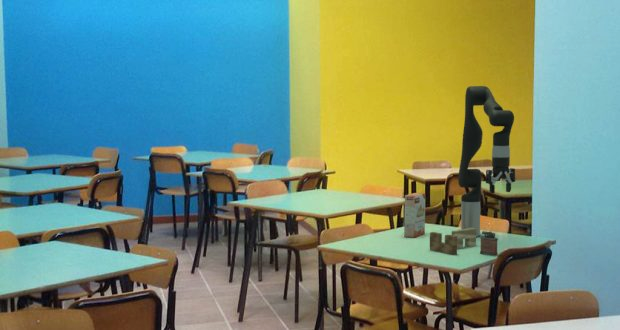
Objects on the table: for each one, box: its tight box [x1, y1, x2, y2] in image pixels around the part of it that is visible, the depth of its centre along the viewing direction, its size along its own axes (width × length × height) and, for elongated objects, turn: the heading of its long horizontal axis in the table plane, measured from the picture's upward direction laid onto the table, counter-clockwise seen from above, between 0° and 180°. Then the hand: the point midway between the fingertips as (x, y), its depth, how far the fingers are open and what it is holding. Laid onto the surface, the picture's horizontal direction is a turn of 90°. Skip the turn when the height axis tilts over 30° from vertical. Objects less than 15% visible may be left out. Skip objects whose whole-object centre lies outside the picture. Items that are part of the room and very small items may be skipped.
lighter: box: [479, 230, 499, 257], centre depth 329 cm, size 8×3×10 cm, turn 48°
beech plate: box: [451, 228, 477, 250], centre depth 347 cm, size 2×14×8 cm, turn 128°
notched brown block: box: [429, 231, 458, 256], centre depth 335 cm, size 14×2×8 cm, turn 38°
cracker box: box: [403, 192, 426, 239], centre depth 377 cm, size 14×6×21 cm, turn 150°
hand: (500, 192), depth 334 cm, fingers open, 8 cm apart
